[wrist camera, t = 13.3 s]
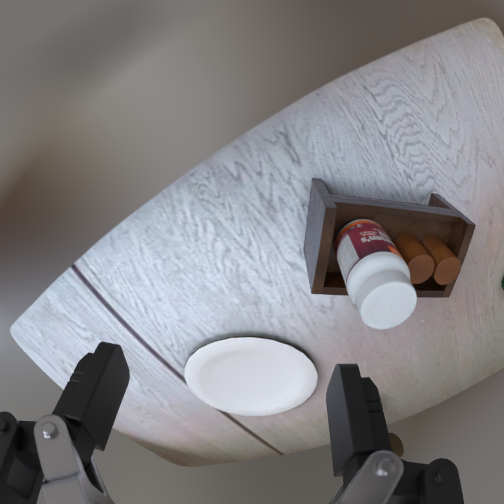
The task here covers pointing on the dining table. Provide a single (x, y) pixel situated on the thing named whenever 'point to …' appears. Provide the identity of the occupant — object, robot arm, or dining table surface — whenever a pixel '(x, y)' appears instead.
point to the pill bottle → (374, 274)
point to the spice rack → (399, 231)
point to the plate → (251, 376)
